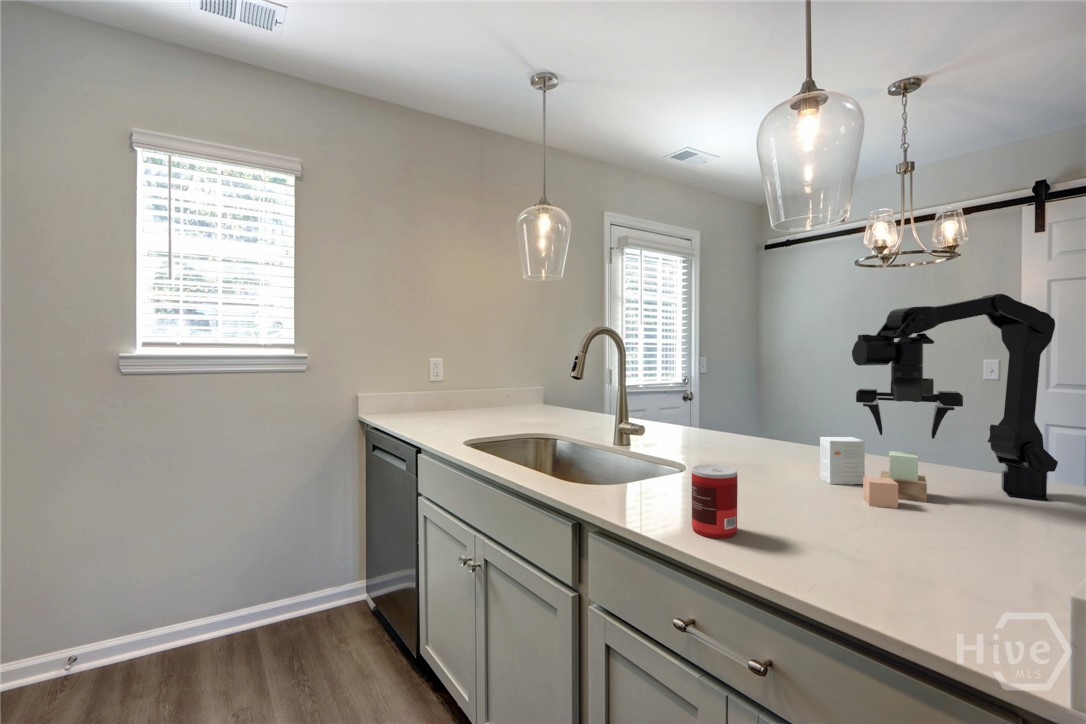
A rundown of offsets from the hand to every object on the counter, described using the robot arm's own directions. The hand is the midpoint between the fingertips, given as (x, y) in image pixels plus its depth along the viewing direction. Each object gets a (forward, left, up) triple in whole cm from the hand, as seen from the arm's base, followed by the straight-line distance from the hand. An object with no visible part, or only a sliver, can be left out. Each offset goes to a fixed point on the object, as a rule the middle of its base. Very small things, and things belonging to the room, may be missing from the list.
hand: (906, 436), depth 112 cm
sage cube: (+1, +1, -9) cm, 9 cm away
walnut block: (+1, +1, -13) cm, 13 cm away
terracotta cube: (+5, +11, -13) cm, 17 cm away
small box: (+13, -5, -13) cm, 19 cm away
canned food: (+29, +46, -13) cm, 55 cm away
